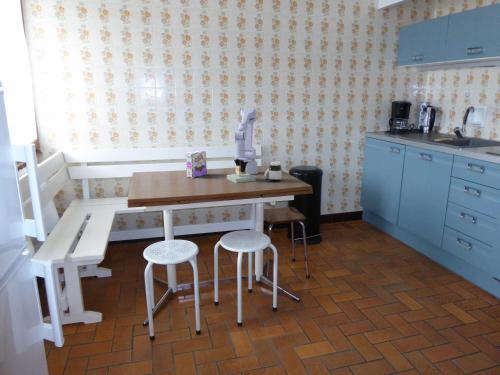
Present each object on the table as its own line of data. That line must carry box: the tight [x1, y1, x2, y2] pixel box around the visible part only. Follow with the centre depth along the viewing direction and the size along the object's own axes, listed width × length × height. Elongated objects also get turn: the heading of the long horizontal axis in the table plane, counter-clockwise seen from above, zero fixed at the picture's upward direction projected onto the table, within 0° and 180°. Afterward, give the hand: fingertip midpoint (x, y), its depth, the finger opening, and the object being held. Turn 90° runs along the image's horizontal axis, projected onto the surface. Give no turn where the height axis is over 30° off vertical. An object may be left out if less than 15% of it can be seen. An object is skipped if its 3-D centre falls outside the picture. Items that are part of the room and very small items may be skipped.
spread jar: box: [263, 161, 283, 183], centre depth 245 cm, size 12×11×12 cm
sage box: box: [226, 173, 257, 184], centre depth 248 cm, size 14×14×3 cm
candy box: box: [185, 150, 208, 179], centre depth 258 cm, size 14×6×16 cm, turn 143°
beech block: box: [235, 165, 246, 175], centre depth 246 cm, size 5×5×5 cm
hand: (241, 171), depth 247 cm, fingers closed on beech block, 5 cm apart
